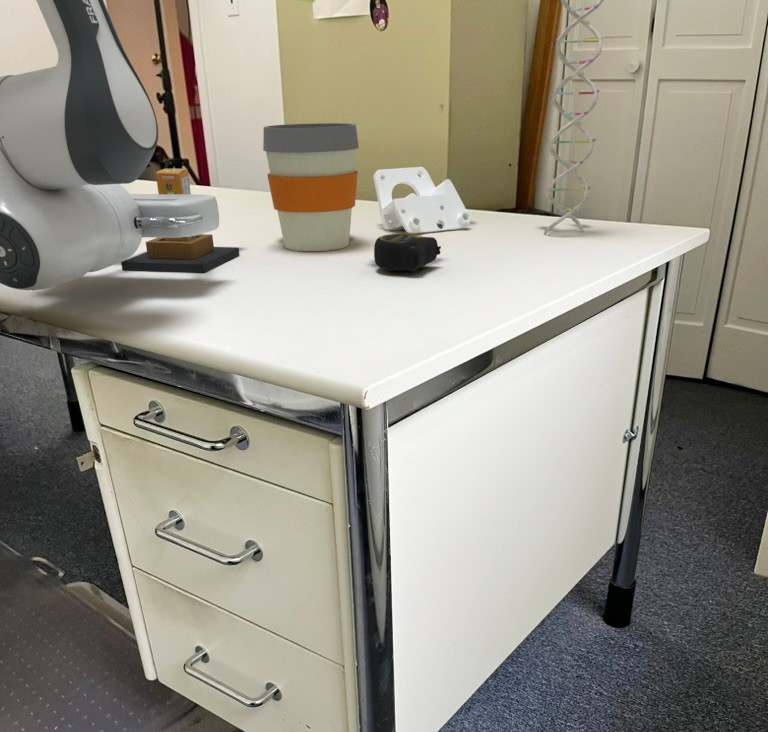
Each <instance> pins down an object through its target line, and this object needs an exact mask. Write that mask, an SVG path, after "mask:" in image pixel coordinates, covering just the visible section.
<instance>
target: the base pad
mask: <svg viewBox="0 0 768 732" xmlns="http://www.w3.org/2000/svg"><path fill="white" fill-rule="evenodd" d="M145 248H146V252H143V253H141V254H138V255H135V256H132V257H130V258H128V259H127V260H125V261H122V262H120V264H121V271H137V272H138V271H140V272H165V273H166V272H167V273H168V272H169V273H197V274H198V273H199V274H201V273H202V274H204V273H206V272H209V271H211V270H213V269H215V268H217V267H218V266H220V265H223V264H225V263H227V262H229V261H231V260H233V259H235V258H237V257H239V256H240V247H234V246H232V247H231V246H230V247H229V246H214V238H213V234H210V233H209V234H207V233H203V234H199V235H196V239H193V240H191V241H188V242H185V241H165V238H157V237H154V238H152V239H150V240H147V241H145Z"/></svg>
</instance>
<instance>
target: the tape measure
mask: <svg viewBox="0 0 768 732" xmlns="http://www.w3.org/2000/svg"><path fill="white" fill-rule="evenodd" d="M441 248H442V246H440V245H439V244H438V240H437V239H436V238H435V237H432V236H421V235H418V234H409V233H391V234H384V235H381V236H379V237H377V238H376V240H375V242H374V244H373V259H374V263H375V265H376V266H377V267H379V268H380V269H383V270H386V271H387V272H391V271H410V272H413V273H414V272H416V271H417V270H418V269H421V268H423V267H425V266H426V265H429V264H430V263H432V262H434V261H435V260H436V259H437V258H438V255H439V256H440V255H441Z"/></svg>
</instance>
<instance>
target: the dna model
mask: <svg viewBox="0 0 768 732" xmlns="http://www.w3.org/2000/svg"><path fill="white" fill-rule="evenodd" d="M604 1H605V0H597V1H596V2H595V3H594V4H593V5H591V6H586V7H583V8H582V7H576V8H574V7H571V6H570V5H569V4H568V2H567V1H566V0H560V2H561V4H562V5H563V7H564V8H565V9H566V10H567V12H568V13H569V14H570V15H571V16H572V17H573V18H574V19H575V20H574V21H572V22H570V24H569V25H567V27H566V28H565V29H564V30H563V32H562V33H561V34H560V35H559V36H558V37H557V38H554V40H556V43H555V53H556V54H557V57H558V59H559V60H560V61H561V62H562V63H563V65H565V66H566V67H568V68H569V69H570V70H571V71H573V72H572V73H570V75H565V77H564V78H563V79H562V80H561V81H560V82H559V83H558V85H557V86H556V87H555V88H554V90H550V92H551V94H552V98H551V100H552V104H553V106H554V107H555V108H556V110H557V111H558V112H559V113H560V115H561V116H563V117H564V118H566V119H567V120H568V121H569V122H568V123H567V124H565V125H564V126H562V127H561V128H560V129H559V130H558V131H557V132H556V133H555V134H554V135H553V137H552V138H550V139H549V142H548V150H549V152H550V155H551V156H552V157H553V158H554V159H555V160H556V163H560V164H561V165H562V166H564V167H565V168H566V170H565V171H563V172H562V173H561V174H559V175H557V176H556V177H555V178H554V179H553V180H552V181H551V182H549V184H548V185H547V186H546V188H545V197H546V198H547V199H548V200H549V202H551V204H552V205H553V206H554V207H555V208H557V209H558V210H559V211H561V212H562V213H563V215H562V216H560V217H559V218H557V219H556V220H554V221H553V222H551V224H549V225H548V227H546V228H545V230H544V231H543V235H546V234H547V233H549V232H550V231H551V230H552V229H553V228H555V227H556V226H558V225H559V224H560V223H561V222H563V221H564V220H566V219H568V218H569V219H571V220H572V221H573V223H574V224H575V225H576V227H577V228H578V229H579V231H580V233H582V234H583V233H584V232H585V229H584V228H583V226H582V224H581V222H580V220H579V219H578V218H577V217H576V216H575V215H574V214H575V213H576V212H578V211H579V210H580V209H581V208H582V207H583V206H584V204H585V203H586V202H587V200H588V197H589V192H590V189H591V188H592V186H589V184H588V182H587V179H586V178H585V177H583V176H582V175H581V174H580V173H579V171H578V170H577V168H579V166H581V165H582V164H584V163H585V162H586V161H587V160H588V159H589V157H590V156H591V154H592V152H593V149H594V142H596V141H597V138H593V137H592V135H591V134H590V132H589V130H588V129H587V128H586V127H585V126H584V125H583V124H582V121H581V120H582V119H583V118H585V117H586V116H588V114H589V113H591V112H592V110H594V108H595V106H596V105H597V103H598V99H599V96H598V95H599V92H601V89H597V86H596V85H595V84H594V82H593V81H591V79H589V77H588V76H586V74H585V73H584V72H583V70H584V69H586V68H587V67H589V66H590V65H591V64H592V63H594V61H595V60H596V59H597V58H598V57H599V56H600V55H601V54H602V49H603V42H604V39H603V37H602V36H601V34H600V32H599V31H598V30H597V29H596V28H595V27H594V26H593V25H592V24H591V23H590V21H587V20H586V19H585V18H587V17H589V15H591V14H592V13H593V12H595V11H596V10H597V9H598V8H599V7H600V6H601V5H602V3H603V2H604ZM580 11H585V12H584V13H583V14H581V15H579V14H578V13H577V12H580ZM578 24H582V25H583V26H584V27H585V28H586V29H587V30H588V31H590V32H591V33H592V34H593V35H594V37H595V39H565V38H566V37H567V35H568V34H570V32H571V31H572V30H573V29H574V28H575V27H576V26H578ZM566 43H567V44H568V43H569V44H575V43H598V44H597V46H596V47H595V49H594V50H593V53H592V54H591V56H590V58H589V59H587V60H577V61H576V60H572V61H569V60H568V59H567V57H566V56H565V55H564V53H563V52H562V50H561V49H562V48H561V47H562V46H561V45H562V44H566ZM576 64H580V66H579V67H578V68H576V67H575V66H574V65H576ZM581 64H582V65H581ZM576 75H577V76H578V77H579V78H580V79H581V80H582V81H583V82H585V83H586V84H587V85H588V86H589V87H590V90H591V91H579V92H578V95H593V98H592V99H593V100H592V101H591V104H590V105H589V106H588V107H587V108H586V109H585V110H584V111H583V112H574V113H573V111H571V112H570V111H565V109H564V108H563V107H562V106H561V104H560V103H559V102H558V100H557V95H559V96H560V95H574V92H573V91H561V90H562V89H563V88H564V87H565V86H567V84H568V83H569V82H570V81H571V80H572V79H573V78H574V77H575V76H576ZM572 115H574V116H576V117H575V118H573V117H572ZM573 126H575V127H576V128H577V129H578V130H579V131H581V132H582V133H583V135H584V136H585V137H586V139H587V140H574V144H587V143H588V150H587V151H586V153H585V154H584V155H583V156H582V157H581V158H580V159H579V160H578V161H575V160H568V159H563V158H562V157H560V156H559V155H558V154H557V152H556V150H555V148H554V144H572V141H571V140H558V139H559V138H560V137H561V136H562V135H563V134H564V132H566V131H567V130H569V129H570V128H571V127H573ZM569 163H571V164H574V165H571V164H569ZM570 174H572V175H574V176H575V177H576V178H577V179H578V180H579V181H580V182H581V183H582V185H583V187H569V188H562V187H561V188H556V187H555V188H552V187H553V186H554V185H555V184H556V183H558V182H559V181H563V178H565V177H566V176H568V175H570ZM564 191H584V192H583V197H582V199H581V200H580V202H579V203H578V204H576V205H575V206H574V207H573V208H570V207H566V206H563V205H561V204H560V203H559V202H558V201H557V200H556V199H555V198H554V197H553V196H552V195H551V193H550V192H564Z"/></svg>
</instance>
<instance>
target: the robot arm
mask: <svg viewBox="0 0 768 732" xmlns="http://www.w3.org/2000/svg"><path fill="white" fill-rule="evenodd" d="M35 1H36V3H37V5H38V9H39V10H40V13H41V15H42V17H43V19H44V21H45V24H46V26H47V29H48V31H49V33H50V36H51V38H52V40H53V42H54V45H55V47H56V50H57V54H58V56H57V57H58V58H57V63H56V65H55V66H52V67H45V68H42V69H37V70H32V71H28V72H23V73H19V74H8V75H3V76H0V284H1V285H3V286H6V287H8V288H11V289H15V290H20V291H40V290H46V289H51V288H55V287H58V286H61V285H64V284H68V283H70V282H71V283H72V282H74V281H76V280H78V279H81V278H82V277H84V276H85V275H86V274H87V273H95V272H99V271H102V270H104V269H107V268H110V267H112V266H115V265H117V264H119V263H120V264H121V262H122V261H125V260H127V259H130V258H132V257H133V256H134V254H135V253H136V252H137V251H138V249H139V247H140V244H141V241H142V238H181V237H190V236H195V235H199V234H207V233H210V232H213V231H216V230H218V229H219V227H220V213H219V212H220V211H219V205H218V201H217V199H216V197H215V196H214V195H212V194H194V193H193V194H192V193H191V194H159V193H130V192H129V191H128V190H127V189H126V187H124V186H123V185H126V184H127V185H128V184H132V183H133V182H135V181H136V180H138V179H139V178H140V176H141V175H142V173H143V172H144V171H145V170H146V168H147V167H148V165H149V163H150V161H151V160H152V158H153V156H154V153H155V151H156V148H157V145H158V141H159V126H158V125H159V124H158V119H157V116H156V112H155V110H154V106H153V103H152V101H151V98H150V97H149V94H148V93H147V90H146V88H145V87H144V84H143V83H142V80H141V79H140V77H139V75H138V74H137V71H136V70H135V68H134V67H133V65H132V63H131V61H130V59H129V57H128V55H127V53H126V51H125V49H124V47H123V44H122V42H121V40H120V37H119V35H118V33H117V30H116V28H115V26H114V23H113V20H112V18H111V16H110V13H109V11H108V8H107V6H106V4H105V1H104V0H35Z"/></svg>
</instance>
